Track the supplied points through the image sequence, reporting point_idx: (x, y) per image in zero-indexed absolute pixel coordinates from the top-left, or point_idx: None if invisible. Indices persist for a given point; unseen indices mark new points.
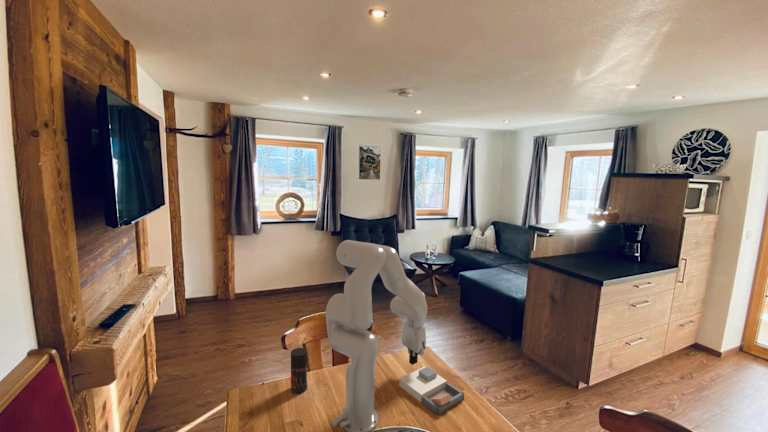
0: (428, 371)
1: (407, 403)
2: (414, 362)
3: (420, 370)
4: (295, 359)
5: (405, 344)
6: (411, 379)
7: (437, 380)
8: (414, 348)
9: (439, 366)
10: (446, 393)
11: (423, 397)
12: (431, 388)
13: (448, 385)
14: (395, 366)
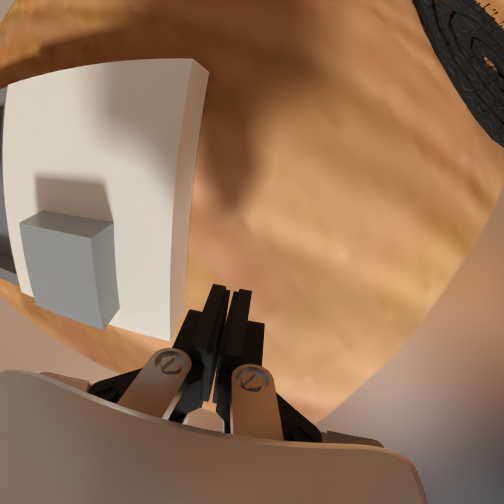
0: (55, 279)
1: (78, 19)
2: (189, 310)
3: (86, 250)
4: None
5: (306, 479)
6: (111, 132)
7: None
8: (19, 425)
9: None
10: None
11: (5, 88)
12: (5, 174)
13: (11, 270)
14: (381, 245)
